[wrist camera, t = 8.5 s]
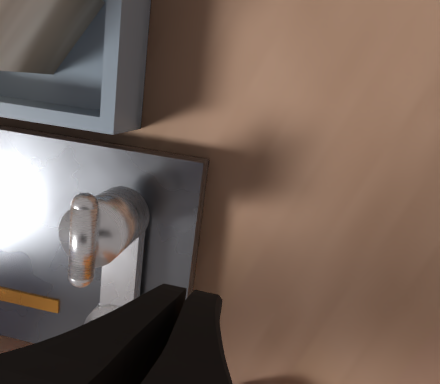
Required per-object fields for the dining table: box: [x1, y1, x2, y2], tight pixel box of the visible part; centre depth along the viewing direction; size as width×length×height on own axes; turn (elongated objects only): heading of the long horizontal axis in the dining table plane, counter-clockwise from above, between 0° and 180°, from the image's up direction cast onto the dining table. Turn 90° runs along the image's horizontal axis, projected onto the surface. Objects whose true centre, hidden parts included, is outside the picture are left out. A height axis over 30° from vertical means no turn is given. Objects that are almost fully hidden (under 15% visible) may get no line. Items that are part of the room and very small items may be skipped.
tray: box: [0, 0, 151, 135], centre depth 17 cm, size 9×9×3 cm
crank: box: [59, 186, 150, 324], centre depth 17 cm, size 9×3×5 cm, turn 173°
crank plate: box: [0, 125, 209, 343], centre depth 21 cm, size 12×11×1 cm
